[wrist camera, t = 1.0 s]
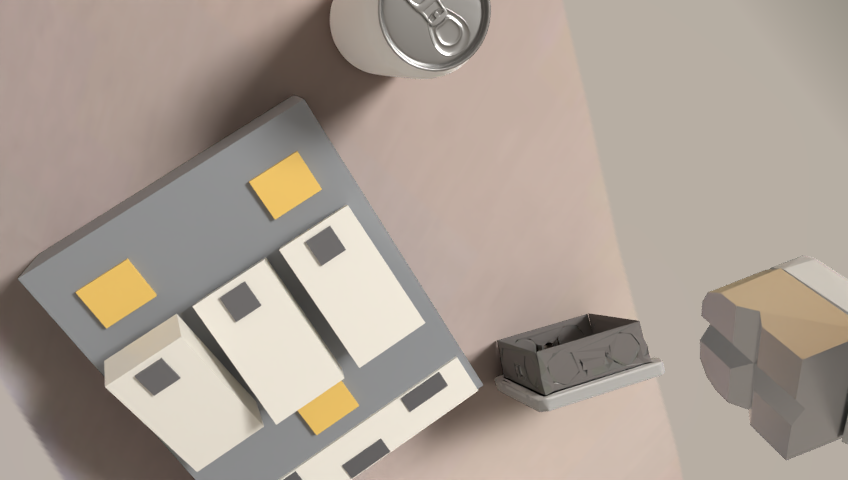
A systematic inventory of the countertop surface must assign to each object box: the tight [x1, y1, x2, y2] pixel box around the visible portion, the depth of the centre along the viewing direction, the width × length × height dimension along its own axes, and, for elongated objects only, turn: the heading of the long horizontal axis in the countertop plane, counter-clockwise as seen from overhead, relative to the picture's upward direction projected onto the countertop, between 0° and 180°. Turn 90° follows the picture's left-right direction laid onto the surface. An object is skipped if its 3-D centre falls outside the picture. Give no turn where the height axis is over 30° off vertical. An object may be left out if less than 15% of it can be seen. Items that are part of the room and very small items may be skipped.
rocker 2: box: [192, 257, 344, 425], centre depth 40 cm, size 8×4×3 cm, turn 30°
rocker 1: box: [104, 314, 264, 472], centre depth 40 cm, size 8×4×2 cm, turn 31°
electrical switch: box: [494, 314, 665, 412], centre depth 50 cm, size 9×5×9 cm, turn 100°
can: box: [330, 0, 491, 79], centre depth 39 cm, size 6×6×12 cm
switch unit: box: [18, 95, 483, 480], centre depth 45 cm, size 22×18×6 cm
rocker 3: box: [279, 205, 425, 368], centre depth 41 cm, size 8×4×2 cm, turn 30°
